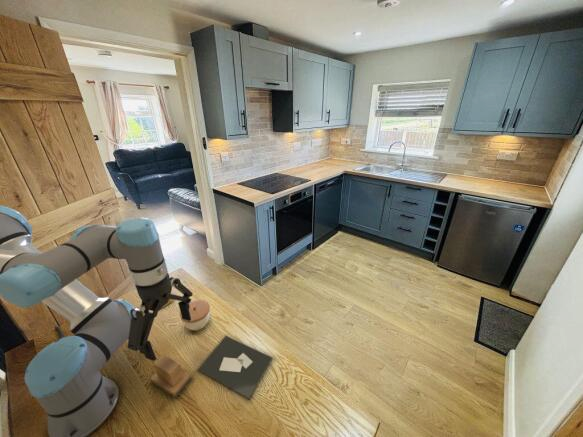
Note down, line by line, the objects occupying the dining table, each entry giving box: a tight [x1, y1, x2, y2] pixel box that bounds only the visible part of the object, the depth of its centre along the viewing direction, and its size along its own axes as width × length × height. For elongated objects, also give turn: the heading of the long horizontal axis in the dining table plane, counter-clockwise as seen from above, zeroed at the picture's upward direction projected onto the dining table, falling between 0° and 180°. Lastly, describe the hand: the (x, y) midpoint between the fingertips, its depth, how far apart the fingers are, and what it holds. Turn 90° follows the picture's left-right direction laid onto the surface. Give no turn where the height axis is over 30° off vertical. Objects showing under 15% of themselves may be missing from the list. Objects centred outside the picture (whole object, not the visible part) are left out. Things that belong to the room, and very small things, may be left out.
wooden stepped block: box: [150, 354, 192, 399], centre depth 73 cm, size 10×6×8 cm, turn 65°
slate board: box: [197, 335, 273, 400], centre depth 79 cm, size 20×14×1 cm
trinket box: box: [179, 299, 211, 331], centre depth 93 cm, size 11×11×9 cm
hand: (170, 337), depth 68 cm, fingers open, 13 cm apart
